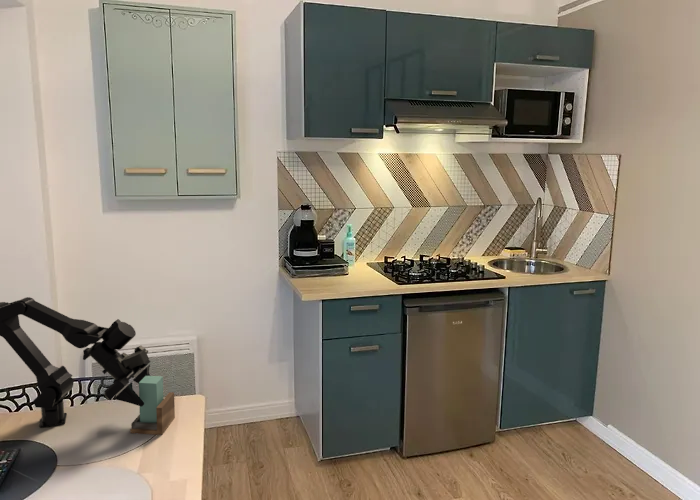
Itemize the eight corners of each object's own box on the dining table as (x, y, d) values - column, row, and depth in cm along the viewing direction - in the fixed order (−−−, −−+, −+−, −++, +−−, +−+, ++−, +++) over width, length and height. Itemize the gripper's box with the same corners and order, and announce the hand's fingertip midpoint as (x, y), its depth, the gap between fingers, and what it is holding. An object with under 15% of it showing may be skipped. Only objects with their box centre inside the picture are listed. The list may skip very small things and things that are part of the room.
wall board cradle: (130, 433, 152) (129, 406, 150) (144, 416, 161) (144, 391, 160) (162, 434, 151) (161, 408, 150) (174, 417, 161) (174, 392, 160)
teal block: (140, 425, 154) (138, 382, 152) (147, 417, 159) (145, 375, 156) (157, 426, 154) (156, 383, 151) (164, 418, 159) (162, 376, 156)
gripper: (114, 353, 143) (156, 394, 145) (143, 330, 161) (180, 367, 163) (86, 379, 145) (128, 420, 146) (117, 354, 163) (154, 390, 165)
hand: (149, 398), depth 155 cm, fingers open, 9 cm apart
